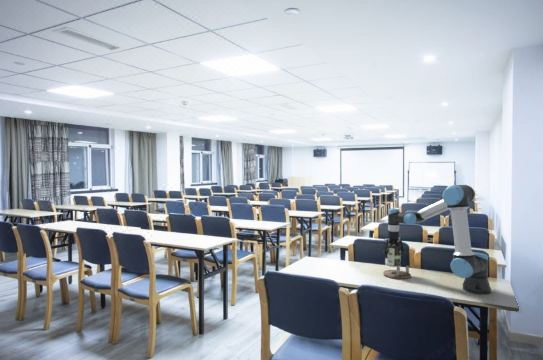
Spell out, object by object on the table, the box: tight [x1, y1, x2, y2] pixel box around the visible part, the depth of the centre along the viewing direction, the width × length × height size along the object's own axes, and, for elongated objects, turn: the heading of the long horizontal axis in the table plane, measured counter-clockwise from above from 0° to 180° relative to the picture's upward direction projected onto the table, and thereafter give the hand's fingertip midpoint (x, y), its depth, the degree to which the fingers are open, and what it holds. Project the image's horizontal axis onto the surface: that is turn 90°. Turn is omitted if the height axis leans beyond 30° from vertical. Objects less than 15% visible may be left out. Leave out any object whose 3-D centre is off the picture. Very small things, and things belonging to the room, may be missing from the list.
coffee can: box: [384, 244, 402, 268], centre depth 256 cm, size 10×10×14 cm
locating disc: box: [382, 265, 412, 281], centre depth 253 cm, size 18×18×8 cm
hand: (392, 262), depth 257 cm, fingers closed on coffee can, 10 cm apart
